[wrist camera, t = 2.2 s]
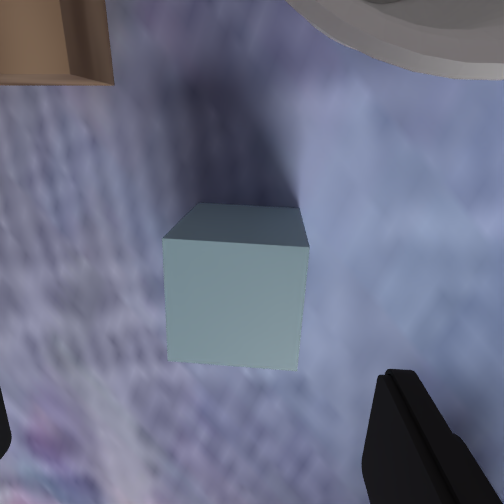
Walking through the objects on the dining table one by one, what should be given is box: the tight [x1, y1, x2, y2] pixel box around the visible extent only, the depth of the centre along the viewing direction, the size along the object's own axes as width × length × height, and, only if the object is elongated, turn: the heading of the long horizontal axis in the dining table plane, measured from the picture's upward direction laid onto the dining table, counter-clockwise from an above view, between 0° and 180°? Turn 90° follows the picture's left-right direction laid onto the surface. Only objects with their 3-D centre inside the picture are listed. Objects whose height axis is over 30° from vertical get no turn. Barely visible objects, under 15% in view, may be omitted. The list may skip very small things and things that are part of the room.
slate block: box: [162, 203, 310, 371], centre depth 16 cm, size 5×5×6 cm
